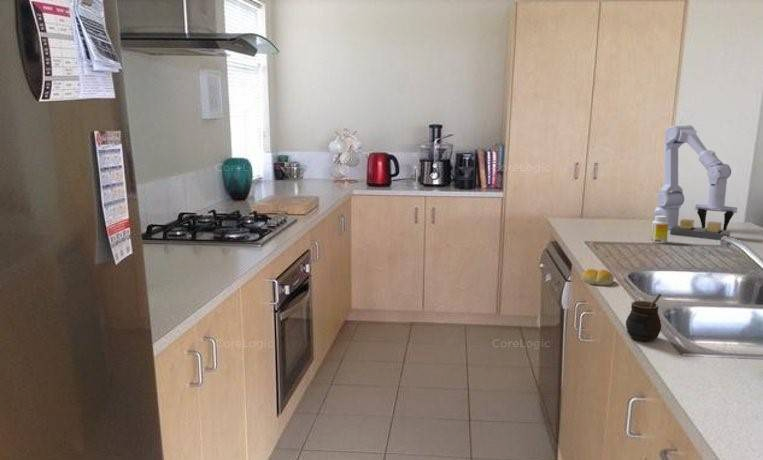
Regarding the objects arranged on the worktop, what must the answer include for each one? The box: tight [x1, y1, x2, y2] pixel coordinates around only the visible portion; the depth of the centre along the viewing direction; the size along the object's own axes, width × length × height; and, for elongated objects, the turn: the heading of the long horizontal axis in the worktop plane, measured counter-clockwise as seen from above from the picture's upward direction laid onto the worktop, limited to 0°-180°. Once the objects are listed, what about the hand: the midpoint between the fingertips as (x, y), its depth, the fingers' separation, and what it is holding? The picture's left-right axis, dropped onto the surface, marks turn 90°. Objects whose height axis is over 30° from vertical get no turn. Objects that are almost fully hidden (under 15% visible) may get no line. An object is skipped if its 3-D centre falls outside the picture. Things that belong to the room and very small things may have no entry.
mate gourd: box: [625, 293, 662, 342], centre depth 133 cm, size 7×8×10 cm
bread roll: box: [581, 268, 615, 287], centre depth 178 cm, size 8×9×4 cm
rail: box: [669, 225, 731, 241], centre depth 241 cm, size 20×8×2 cm, turn 49°
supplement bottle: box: [650, 216, 669, 244], centre depth 230 cm, size 6×6×10 cm
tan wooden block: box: [706, 221, 722, 233], centre depth 237 cm, size 4×4×6 cm
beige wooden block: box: [679, 218, 695, 230], centre depth 244 cm, size 4×4×6 cm
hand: (713, 229), depth 237 cm, fingers open, 7 cm apart
